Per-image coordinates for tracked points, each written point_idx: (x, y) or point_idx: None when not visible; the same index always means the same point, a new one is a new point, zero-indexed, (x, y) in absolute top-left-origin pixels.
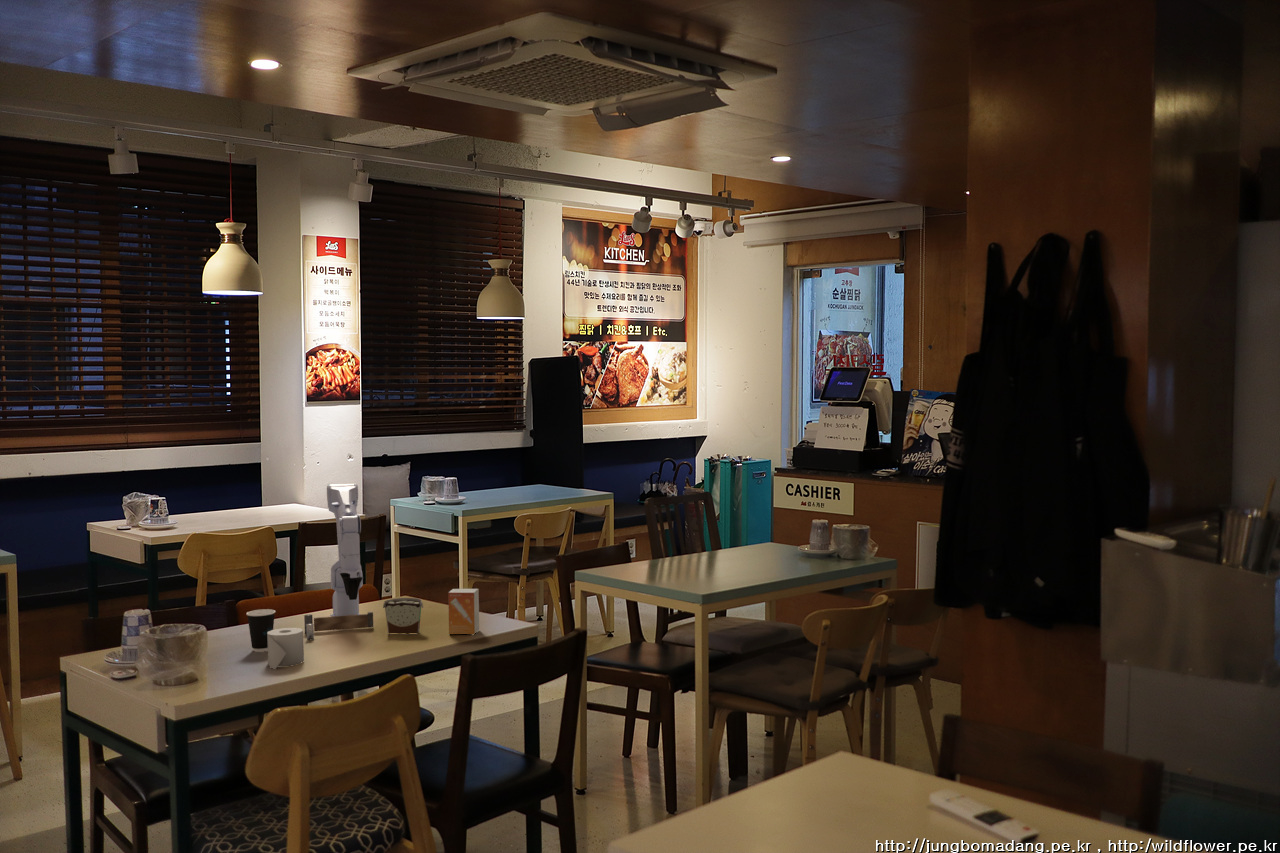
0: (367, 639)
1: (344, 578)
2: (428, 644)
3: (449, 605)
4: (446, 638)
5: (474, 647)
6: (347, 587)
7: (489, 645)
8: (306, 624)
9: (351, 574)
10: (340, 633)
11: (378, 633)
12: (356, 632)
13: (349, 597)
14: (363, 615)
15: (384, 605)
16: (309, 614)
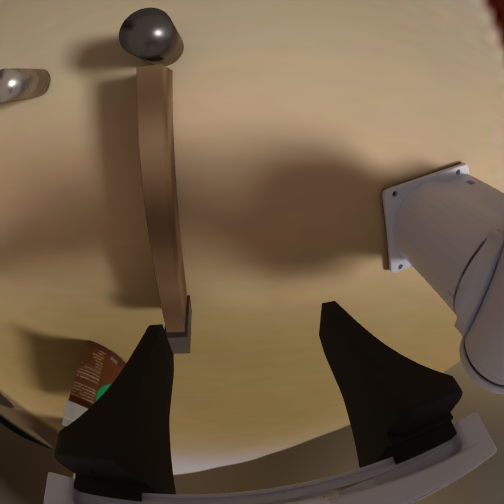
0: (23, 287)
1: (56, 454)
2: (10, 383)
3: (73, 473)
4: (58, 412)
5: (13, 418)
6: (104, 393)
7: (28, 431)
8: (2, 69)
9: (48, 500)
10: (114, 193)
11: (98, 318)
12: (121, 254)
13: (143, 337)
14: (164, 316)
15: (71, 410)
16: (168, 34)
